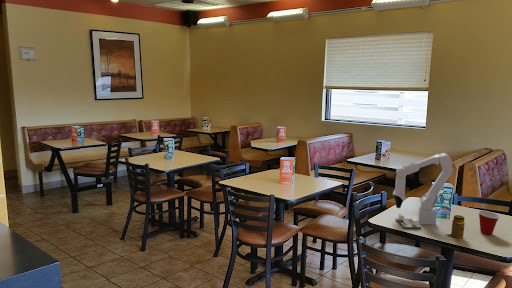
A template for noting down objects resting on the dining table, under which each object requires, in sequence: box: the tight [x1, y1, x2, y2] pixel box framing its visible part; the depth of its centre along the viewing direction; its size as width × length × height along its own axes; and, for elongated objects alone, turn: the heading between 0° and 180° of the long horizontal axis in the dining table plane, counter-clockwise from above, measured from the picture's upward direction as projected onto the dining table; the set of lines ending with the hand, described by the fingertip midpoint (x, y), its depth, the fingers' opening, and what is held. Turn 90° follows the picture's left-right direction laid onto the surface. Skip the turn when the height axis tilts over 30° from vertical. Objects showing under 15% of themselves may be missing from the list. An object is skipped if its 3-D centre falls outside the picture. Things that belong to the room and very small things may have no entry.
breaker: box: [411, 218, 418, 225], centre depth 232 cm, size 2×3×3 cm, turn 0°
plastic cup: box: [478, 210, 501, 236], centre depth 225 cm, size 11×11×12 cm
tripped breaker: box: [397, 213, 405, 220], centre depth 240 cm, size 2×3×3 cm, turn 0°
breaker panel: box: [395, 217, 422, 230], centre depth 237 cm, size 10×14×2 cm
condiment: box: [444, 214, 467, 240], centre depth 219 cm, size 7×8×12 cm
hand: (398, 207), depth 245 cm, fingers closed
